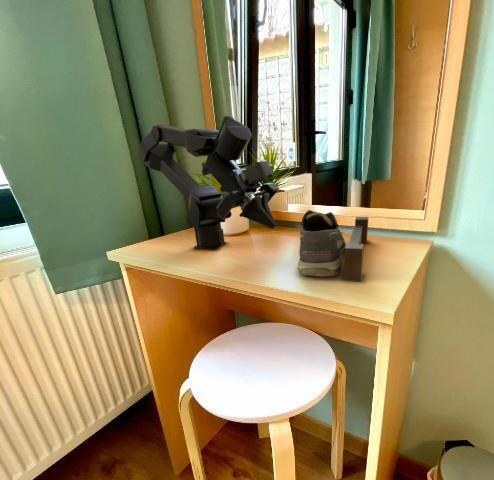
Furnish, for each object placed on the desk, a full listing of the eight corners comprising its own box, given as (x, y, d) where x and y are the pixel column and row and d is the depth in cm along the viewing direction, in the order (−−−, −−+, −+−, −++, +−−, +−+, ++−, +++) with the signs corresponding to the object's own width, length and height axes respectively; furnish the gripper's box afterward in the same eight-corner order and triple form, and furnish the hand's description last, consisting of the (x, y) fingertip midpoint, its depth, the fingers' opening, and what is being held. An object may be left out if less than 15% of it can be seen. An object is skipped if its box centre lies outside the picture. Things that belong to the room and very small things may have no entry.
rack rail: (343, 280, 58) (344, 248, 55) (354, 240, 82) (356, 216, 80) (360, 281, 57) (362, 248, 54) (366, 240, 82) (368, 217, 79)
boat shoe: (342, 239, 84) (343, 199, 80) (354, 281, 57) (357, 225, 53) (303, 239, 85) (302, 200, 81) (296, 281, 58) (295, 226, 54)
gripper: (221, 147, 56) (276, 210, 56) (269, 146, 71) (313, 196, 71) (194, 190, 62) (244, 247, 62) (244, 181, 78) (284, 226, 78)
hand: (274, 227), depth 68 cm, fingers closed
